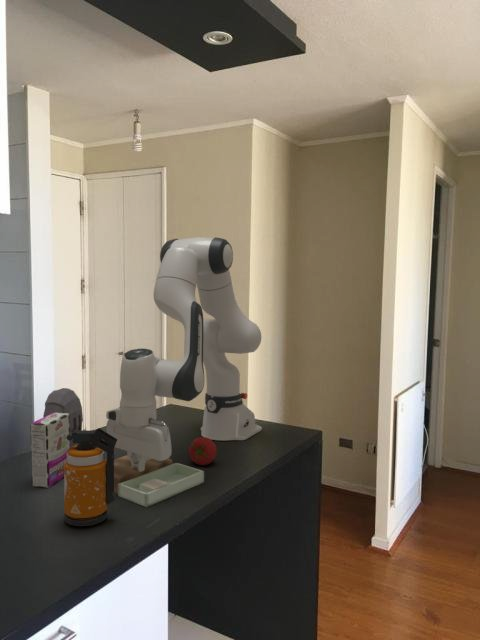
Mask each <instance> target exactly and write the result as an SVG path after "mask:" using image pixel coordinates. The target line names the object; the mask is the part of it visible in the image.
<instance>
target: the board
mask: <svg viewBox="0 0 480 640" xmlns="http://www.w3.org/2000/svg"><path fill="white" fill-rule="evenodd" d="M171 464H173V459H172V458H170V457H169V458H168V459H166V460H163V461H157V460H154V459H150V460H148V461H146V463H145V470H144V471H142V472H139V471H136V470H133V469H132V463H131V461H130V460H129V459H127V454H126V455H123V456H120V457H118V458H114V492H115V494H116V495H118V484H120V483H122V482H125V481H128V480H130V479H133V478H136V477H139V476H141V475H144V474H147V473H150V472H152V471H155V470H158V469H160V468H163V467H166V466H169V465H171Z"/></svg>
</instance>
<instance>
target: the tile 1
mask: <svg viewBox="0 0 480 640" xmlns="http://www.w3.org/2000/svg"><path fill="white" fill-rule="evenodd" d="M168 484H169V483H167V482H164V481H161V480H158V479H152V480H149V481H147V482H144V483H141V484H140V491H142V492H145V493H148V492H151V491H153V490H156V489H158V488H161V487H163V486H166V485H168Z"/></svg>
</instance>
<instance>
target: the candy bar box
mask: <svg viewBox="0 0 480 640" xmlns="http://www.w3.org/2000/svg"><path fill="white" fill-rule="evenodd" d="M29 426H30V451H31V453H30V454H31V483H32V484H31V486H32V487H33V488H45V489H49V488H52V486H54V485H55V484H57V483H58V482H60V481H61V480H63V478H64V464H65V462H66V461H67V452H68V450H69V448H70V440H67V438H66V437H67V435H68V434H69V433H70V431H69V414H68V413H52V414H50V415H48V416H45V417H41V418H40V419H37V420H35V421H33V422H31V423H30V425H29Z"/></svg>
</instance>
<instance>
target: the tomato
mask: <svg viewBox="0 0 480 640" xmlns="http://www.w3.org/2000/svg"><path fill="white" fill-rule="evenodd" d="M217 452H218V450H217V445H216V443H215V442H214V441H213V440H212V439H209V438H206V437H203V436H199V437H197V438H195V439H193V441H192V443H190V445H189V449H188V454H189V455H188V456H189V458H190V459H191V460H192V462H193V463H195V464H196V465H199V466H206V465H210V464H211V463H212V462H213V461H214V459H215V458H216V456H217Z"/></svg>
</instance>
